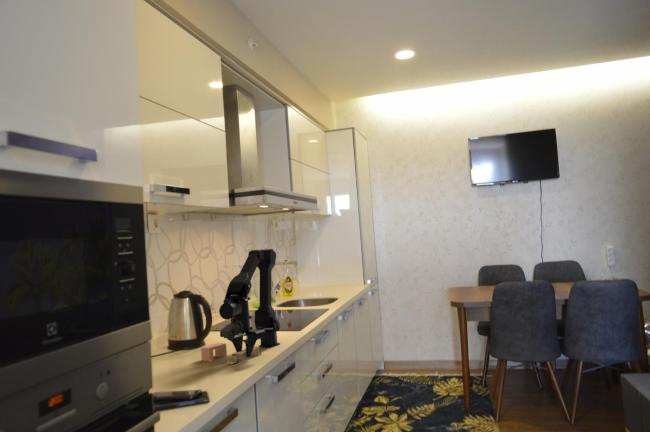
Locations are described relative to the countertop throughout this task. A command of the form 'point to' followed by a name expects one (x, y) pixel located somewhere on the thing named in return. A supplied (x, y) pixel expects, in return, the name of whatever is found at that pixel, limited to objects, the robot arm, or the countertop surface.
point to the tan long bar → (243, 356)
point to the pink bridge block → (208, 351)
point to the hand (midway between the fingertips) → (244, 356)
